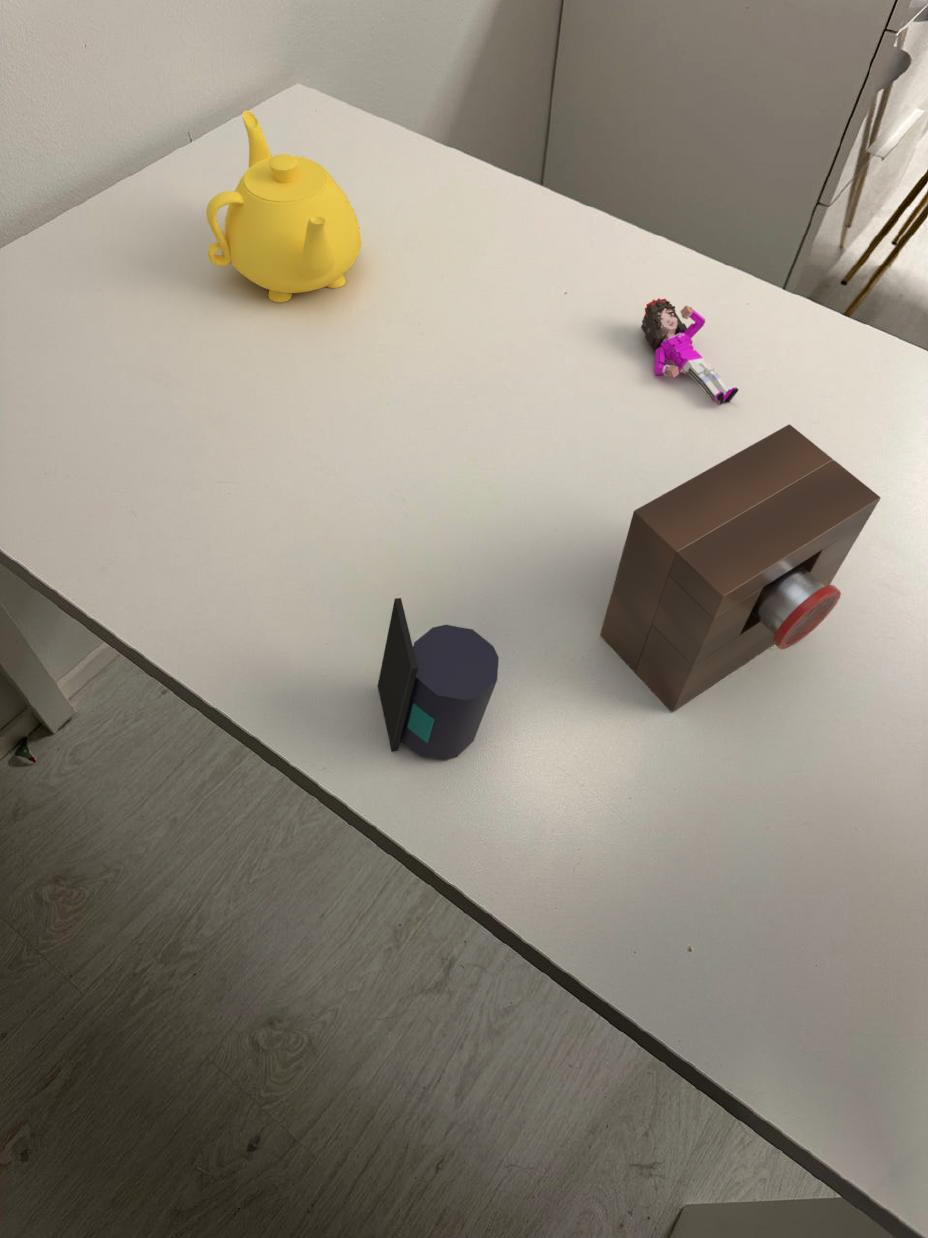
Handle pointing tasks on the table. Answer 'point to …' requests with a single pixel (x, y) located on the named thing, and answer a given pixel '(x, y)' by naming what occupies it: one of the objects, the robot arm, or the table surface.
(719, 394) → the character figurine
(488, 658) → the speaker
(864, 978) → the table surface
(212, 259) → the teapot
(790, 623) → the knob
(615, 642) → the control box
